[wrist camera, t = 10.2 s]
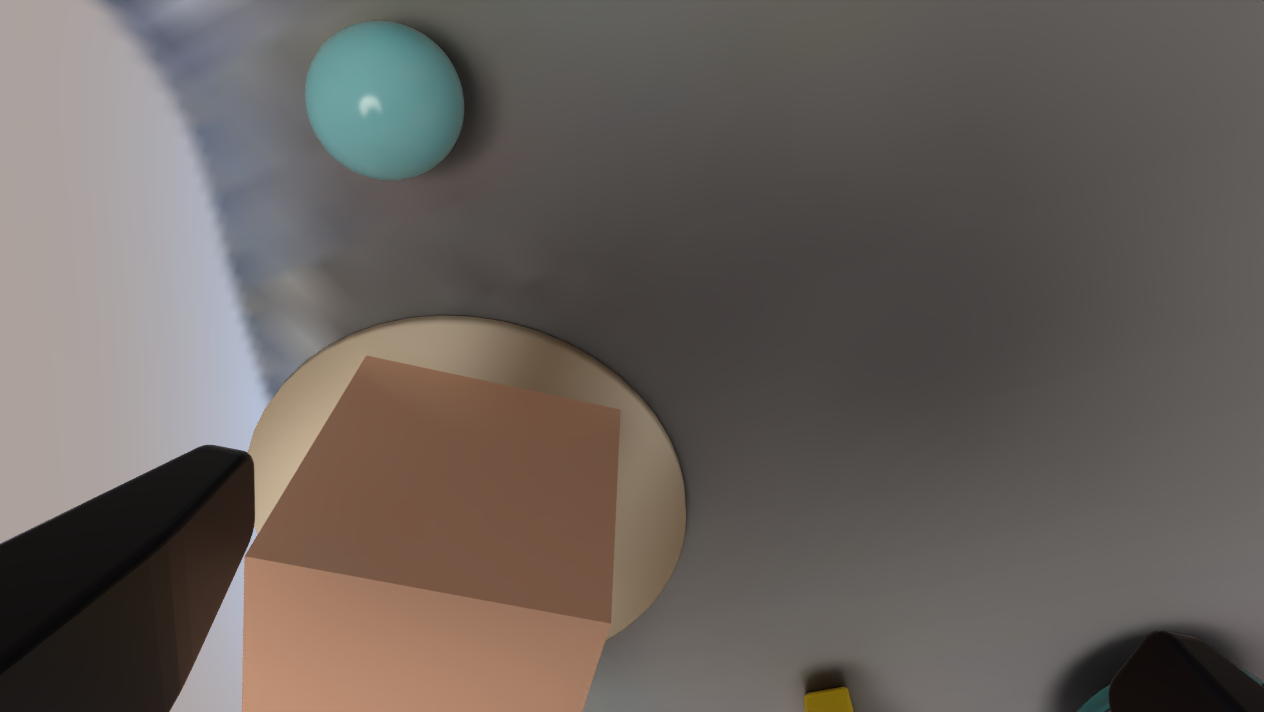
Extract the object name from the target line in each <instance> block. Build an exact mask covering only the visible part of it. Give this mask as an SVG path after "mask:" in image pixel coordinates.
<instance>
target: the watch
mask: <svg viewBox="0 0 1264 712" xmlns="http://www.w3.org/2000/svg"><path fill="white" fill-rule="evenodd" d="M804 705H805V712H854V711H853V707H852V703H851V700H850V696H849V690H848V688H846V687H838V688H833V689H827V690H822V691H816V692H811V693H807V694H806V696H805V698H804Z"/></svg>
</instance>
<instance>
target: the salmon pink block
mask: <svg viewBox="0 0 1264 712" xmlns="http://www.w3.org/2000/svg"><path fill="white" fill-rule="evenodd" d="M620 410H621V409H616V408H611V407H606V406H602V405H597V404H592V403H588V402H583V401H578V400H574V399H569V398H564V397H559V396H555V395H550V394H545V393H541V392H536V391H531V390H526V389H522V388H517V387H512V386H508V385H503V384H498V383H494V382H489V381H484V380H479V379H475V378H470V377H465V376H461V375H456V374H451V373H447V372H442V371H437V370H432V369H428V368H423V367H418V366H414V365H409V364H404V363H400V362H395V361H390V360H385V359H381V358H376V357H371V356H367V355H366V356H365V358H364V360H363V361H362V363H361V365H360V366H359V368H358V370H357V371H356V373H355V375H354V376H353V378H352V380H351V381H350V383H349V385H348V386H347V388H346V390H345V391H344V393H343V394H342V396H341V398H340V399H339V401H338V403H337V404H336V406H335V408H334V409H333V411H332V413H331V414H330V416H329V418H328V419H327V421H326V423H325V424H324V426H323V428H322V429H321V431H320V433H319V434H318V436H317V438H316V439H315V441H314V442H313V444H312V446H311V447H310V449H309V451H308V452H307V454H306V456H305V457H304V459H303V461H302V462H301V464H300V466H299V467H298V469H297V471H296V472H295V474H294V476H293V477H292V479H291V481H290V482H289V484H288V486H287V487H286V489H285V490H284V492H283V494H282V495H281V497H280V499H279V500H278V502H277V504H276V505H275V507H274V509H273V510H272V512H271V514H270V515H269V517H268V519H267V520H266V522H265V524H264V525H263V527H262V529H261V530H260V532H259V534H258V535H257V537H256V539H255V540H254V542H253V544H252V545H251V547H250V549H249V550H248V552H247V554H246V555H245V568H244V569H245V570H244V626H243V682H242V684H243V685H242V712H582V711H583V708H584V705H585V702H586V698H587V695H588V692H589V689H590V686H591V683H592V680H593V677H594V674H595V671H596V668H597V665H598V662H599V659H600V656H601V653H602V650H603V647H604V644H605V641H606V638H607V634H608V631H609V628H610V625H611V613H612V591H613V568H614V546H615V523H616V501H617V478H618V455H619V433H620Z"/></svg>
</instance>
